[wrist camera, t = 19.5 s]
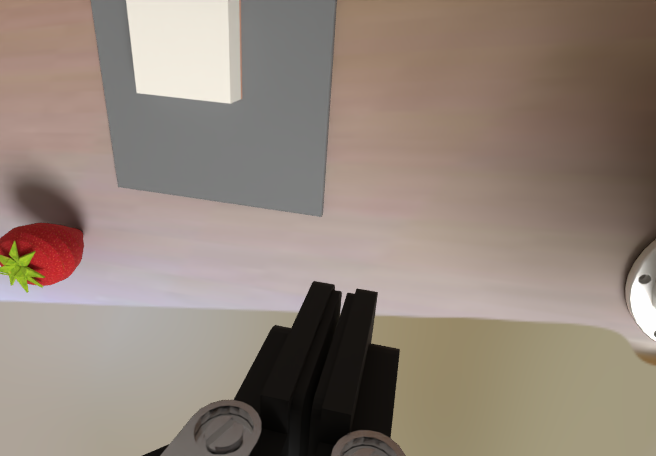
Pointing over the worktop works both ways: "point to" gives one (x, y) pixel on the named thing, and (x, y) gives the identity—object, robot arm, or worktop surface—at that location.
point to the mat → (230, 113)
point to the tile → (187, 48)
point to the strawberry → (40, 253)
